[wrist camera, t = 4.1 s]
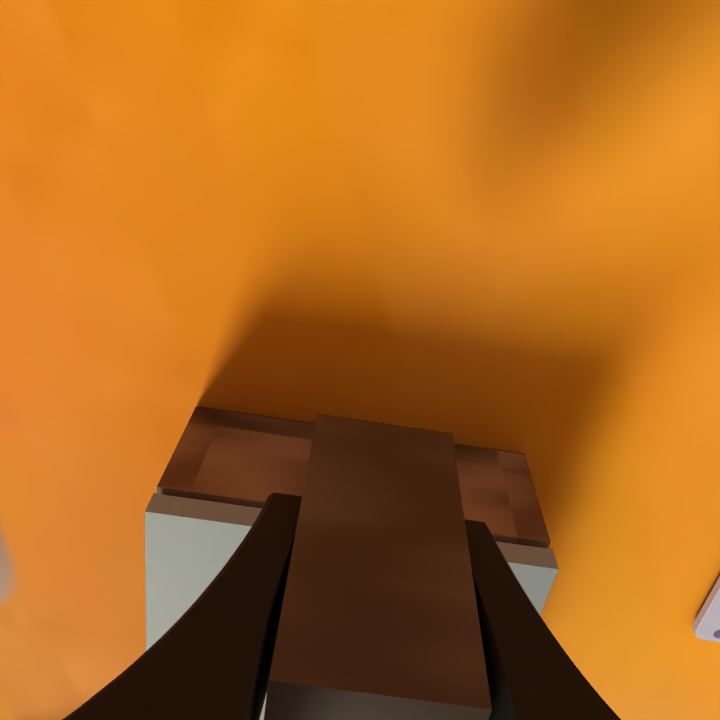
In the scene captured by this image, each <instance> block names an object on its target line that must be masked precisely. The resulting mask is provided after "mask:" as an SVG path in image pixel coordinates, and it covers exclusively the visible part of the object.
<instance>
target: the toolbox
mask: <svg viewBox="0 0 720 720" xmlns="http://www.w3.org/2000/svg"><path fill="white" fill-rule="evenodd" d="M314 428H315V424H312V423H306V422H299V421H292V420H285V419H278V418H271V417H264V416H257V415H250V414H244V413H237V412H230V411H223V410H216V409H209V408H202V407H196V408H195V410H194V412H193V414H192V416H191V418H190V420H189V422H188V424H187V426H186V428H185V430H184V432H183V434H182V437H181V439H180V441H179V443H178V445H177V447H176V449H175V451H174V453H173V455H172V457H171V459H170V461H169V463H168V465H167V467H166V469H165V471H164V473H163V476H162V478H161V480H160V482H159V484H158V486H157V494H162V495H169V496H176V497H184V498H191V499H198V500H205V501H212V502H219V503H226V504H233V505H240V506H248V507H255V508H263V506H264V504H265V502H266V499H267V497H268V496H269V495H270V494H272V493H274V492H276V493H283V494H290V495H297V496H302V494H303V489H304V483H305V478H306V472H307V467H308V461H309V456H310V450H311V445H312V439H313V434H314ZM454 451H455V458H456V465H457V472H458V478H459V485H460V492H461V499H462V506H463V513H464V519H466V520H473V521H480V522H485V524H486V525H487V526H488V528H489V530H490V532H491V533H492V535H493V537H494V539H495V541H496V542H504V543H511V544H518V545H525V546H532V547H539V548H546V549H548V547H549V544H550V539H549V536H548V533H547V529H546V526H545V523H544V519H543V516H542V513H541V509H540V506H539V503H538V499H537V496H536V493H535V489H534V486H533V483H532V479H531V476H530V473H529V469H528V466H527V463H526V459H525V456H524V454H519V453H512V452H505V451H498V450H491V449H484V448H478V447H471V446H464V445H457V444H454Z"/></svg>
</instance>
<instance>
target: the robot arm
mask: <svg viewBox="0 0 720 720" xmlns="http://www.w3.org/2000/svg"><path fill="white" fill-rule="evenodd" d="M301 500H302V496H297V495H290V494H283V493H276V492H274V493H272V494H270V495H269V496H268V497H267V499H266V502H265V504H264V506H263V508H262V510H261V512H260V513H259V515H258V517H257V519H256V520H255V522H254V524H253V525H252V527H251V528H250V530H249V532H248V533H247V535H246V536H245V538H244V539H243V541H242V542H241V544H240V545H239V546H238V548H237V549H236V551H235V552H234V553H233V555H232V556H231V557H230V559H229V560H228V562H227V563H226V564H225V566H224V567H223V568H222V570H221V571H220V572H219V573H218V575H217V576H216V577H215V578H214V579H213V581H212V582H211V583H210V584H209V586H208V587H207V588H206V589H205V590H204V592H203V593H202V594H201V595H200V596H199V598H198V599H197V600H196V601H195V602H194V603H193V604H192V605H191V607H190V608H189V609H188V610H187V611H186V612H185V613H184V614H183V615H182V616H181V617H180V619H179V620H178V621H177V622H176V623H175V624H174V625H173V626H172V627H171V628H170V629H169V630H168V631H167V632H166V633H165V634H164V635H163V636H162V637H161V638H160V639H159V640H158V641H157V642H156V643H154V644H153V645H152V646H151V647H150V648H149V649H148V650H147V651H146V652H145V653H144V654H143V655H142V656H141V657H140V658H138V659H137V660H136V661H135V662H134V663H133V664H132V665H131V666H129V667H128V668H127V669H126V670H125V671H124V672H123V673H121V674H120V675H119V676H118V677H117V678H115V679H114V680H113V681H112V682H110V683H109V684H108V685H107V686H105V687H104V688H103V689H102V690H100V691H99V692H98V693H97V694H95V695H94V696H93V697H92V698H90V699H89V700H88V701H87V702H85V703H84V704H83V705H82V706H80V707H79V708H78V709H76V710H75V711H74V712H72V713H71V714H70V715H68V716H67V717H66V718H64V719H63V720H260V716H261V712H262V708H263V705H264V701H265V697H266V693H267V689H268V681H269V675H270V670H271V664H272V659H273V653H274V648H275V642H276V637H277V631H278V626H279V620H280V615H281V609H282V604H283V599H284V593H285V588H286V582H287V577H288V571H289V566H290V560H291V555H292V549H293V544H294V538H295V533H296V527H297V522H298V516H299V511H300V505H301ZM464 520H465V527H466V534H467V540H468V547H469V554H470V561H471V568H472V575H473V582H474V589H475V596H476V602H477V609H478V616H479V623H480V630H481V637H482V644H483V651H484V658H485V664H486V671H487V678H488V685H489V692H490V699H491V706H492V711H491V714H490V716H489V719H488V720H621V719H620V718H619V717H618V716H617V715H616V714H615V713H614V712H613V710H612V709H611V708H610V707H609V706H608V705H607V704H606V703H605V701H604V700H603V699H602V698H601V697H600V696H599V694H598V693H597V692H596V691H595V690H594V688H593V687H592V686H591V685H590V683H589V682H588V681H587V680H586V679H585V677H584V676H583V675H582V674H581V672H580V671H579V670H578V668H577V667H576V666H575V665H574V663H573V662H572V661H571V659H570V658H569V657H568V655H567V654H566V653H565V651H564V650H563V648H562V647H561V646H560V644H559V643H558V641H557V640H556V638H555V637H554V636H553V634H552V633H551V631H550V630H549V628H548V627H547V625H546V624H545V622H544V621H543V619H542V618H541V617H540V615H539V613H538V612H537V610H536V609H535V607H534V606H533V604H532V602H531V601H530V599H529V598H528V596H527V594H526V593H525V591H524V590H523V588H522V586H521V585H520V583H519V581H518V580H517V578H516V576H515V575H514V573H513V571H512V569H511V568H510V566H509V564H508V562H507V561H506V559H505V557H504V555H503V554H502V552H501V550H500V548H499V546H498V545H497V543H496V541H495V539H494V537H493V535H492V533H491V532H490V530H489V528H488V526H487V525H486V524H485V522H480V521H473V520H466V519H464ZM692 628H693V631H694V633H695V635H696V636H697V637H698V638H700V639H703V640H710V641H717V642H720V577H719V578H718V580H717V582H716V584H715V585H714V587H713V589H712V591H711V593H710V594H709V596H708V598H707V600H706V601H705V603H704V605H703V607H702V609H701V610H700V612H699V614H698V616H697V618H696V619H695V621H694V623H693V626H692Z"/></svg>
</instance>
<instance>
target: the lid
mask: <svg viewBox="0 0 720 720" xmlns="http://www.w3.org/2000/svg"><path fill="white" fill-rule="evenodd" d="M261 510H262V508H255V507H248V506H240V505H233V504H226V503H219V502H212V501H205V500H198V499H191V498H184V497H176V496H169V495H162V494H155V493H154V494H153V496H152V498H151V500H150V502H149V504H148V506H147V508H146V510H145V567H146V651H147V650H148V649H149V648H150V647H151V646H152V645H153V644H154V643H156V642H157V641H158V640H159V639H160V638H161V637H162V636H163V635H164V634H165V633H166V632H167V631H168V630H169V629H170V628H171V627H172V626H173V625H174V624H175V623H176V622H177V621H178V620H179V619H180V617H181V616H182V615H183V614H184V613H185V612H186V611H187V610H188V609H189V608H190V607H191V605H192V604H193V603H194V602H195V601H196V600H197V599H198V598H199V596H200V595H201V594H202V593H203V592H204V590H205V589H206V588H207V587H208V586H209V584H210V583H211V582H212V581H213V579H214V578H215V577H216V576H217V575H218V573H219V572H220V571H221V570H222V568H223V567H224V566H225V564H226V563H227V562H228V560H229V559H230V557H231V556H232V555H233V553H234V552H235V551H236V549H237V548H238V546H239V545H240V544H241V542H242V541H243V539H244V538H245V536H246V535H247V533H248V532H249V530H250V528H251V527H252V525H253V524H254V522H255V520H256V519H257V517H258V515H259V513H260V512H261ZM496 543H497V545H498V546H499V548H500V550H501V552H502V554H503V555H504V557H505V559H506V561H507V562H508V564H509V566H510V568H511V569H512V571H513V573H514V575H515V576H516V578H517V580H518V581H519V583H520V585H521V586H522V588H523V590H524V591H525V593H526V594H527V596H528V598H529V599H530V601H531V602H532V604H533V606H534V607H535V609H536V610H537V612H538V613H539V615H540V614H541V612H542V609H543V607H544V604H545V602H546V599H547V597H548V594H549V592H550V589H551V587H552V584H553V582H554V579H555V577H556V574H557V572H558V566H557V563H556V559H555V556H554V553H553V549H546V548H539V547H532V546H525V545H518V544H511V543H504V542H496ZM266 697H267V693H266ZM266 697H265V701H264V705H263V708H262V712H261V716H260V720H264V713H265V705H266Z"/></svg>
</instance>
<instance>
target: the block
mask: <svg viewBox="0 0 720 720" xmlns="http://www.w3.org/2000/svg"><path fill="white" fill-rule="evenodd" d="M491 711H492V706H491V699H490V692H489V685H488V678H487V671H486V664H485V658H484V651H483V644H482V637H481V630H480V623H479V616H478V609H477V602H476V596H475V589H474V582H473V575H472V568H471V561H470V554H469V547H468V540H467V534H466V527H465V520H464V513H463V506H462V499H461V492H460V485H459V478H458V472H457V465H456V458H455V451H454V444H453V437H452V434H451V433H444V432H438V431H431V430H424V429H417V428H410V427H403V426H397V425H390V424H383V423H376V422H369V421H362V420H356V419H349V418H342V417H335V416H328V415H321V414H317V417H316V423H315V428H314V434H313V439H312V445H311V450H310V456H309V461H308V467H307V472H306V478H305V483H304V489H303V494H302V500H301V505H300V511H299V516H298V522H297V527H296V533H295V538H294V544H293V549H292V555H291V560H290V566H289V571H288V577H287V582H286V588H285V593H284V599H283V604H282V609H281V615H280V620H279V626H278V631H277V637H276V642H275V648H274V653H273V659H272V664H271V670H270V675H269V681H268V689H267V697H266V705H265V713H264V720H488V719H489V716H490V714H491Z"/></svg>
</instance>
